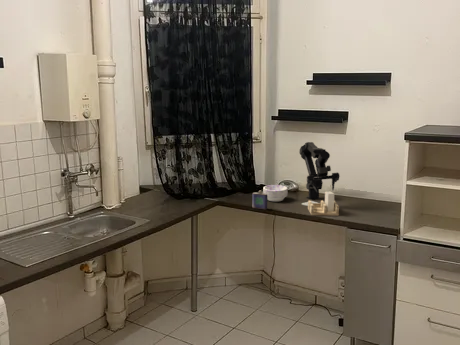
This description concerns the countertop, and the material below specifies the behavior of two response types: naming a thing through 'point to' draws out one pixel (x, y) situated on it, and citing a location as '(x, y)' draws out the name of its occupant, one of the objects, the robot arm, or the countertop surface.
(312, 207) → the rack
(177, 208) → the countertop surface
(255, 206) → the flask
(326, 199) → the white rectangular block
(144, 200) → the countertop surface
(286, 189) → the paper bowls
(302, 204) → the drying mat
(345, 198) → the countertop surface
